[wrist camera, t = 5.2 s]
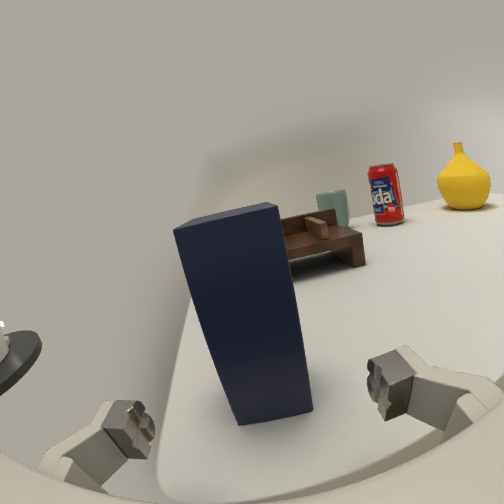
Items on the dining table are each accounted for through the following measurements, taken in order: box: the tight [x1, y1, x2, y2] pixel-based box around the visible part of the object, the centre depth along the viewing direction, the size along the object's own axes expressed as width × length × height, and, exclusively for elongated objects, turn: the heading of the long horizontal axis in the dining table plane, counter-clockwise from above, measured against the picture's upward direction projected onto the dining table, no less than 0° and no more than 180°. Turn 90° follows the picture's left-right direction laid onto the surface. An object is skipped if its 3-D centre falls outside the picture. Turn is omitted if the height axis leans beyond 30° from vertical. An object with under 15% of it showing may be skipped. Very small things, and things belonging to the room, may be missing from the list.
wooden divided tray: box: [281, 208, 365, 268], centre depth 44 cm, size 22×12×8 cm, turn 92°
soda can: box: [368, 163, 404, 226], centre depth 60 cm, size 8×8×15 cm
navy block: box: [173, 202, 313, 425], centre depth 16 cm, size 5×5×13 cm
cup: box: [316, 190, 349, 228], centre depth 67 cm, size 8×8×10 cm
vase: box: [437, 142, 491, 210], centre depth 58 cm, size 18×18×19 cm
